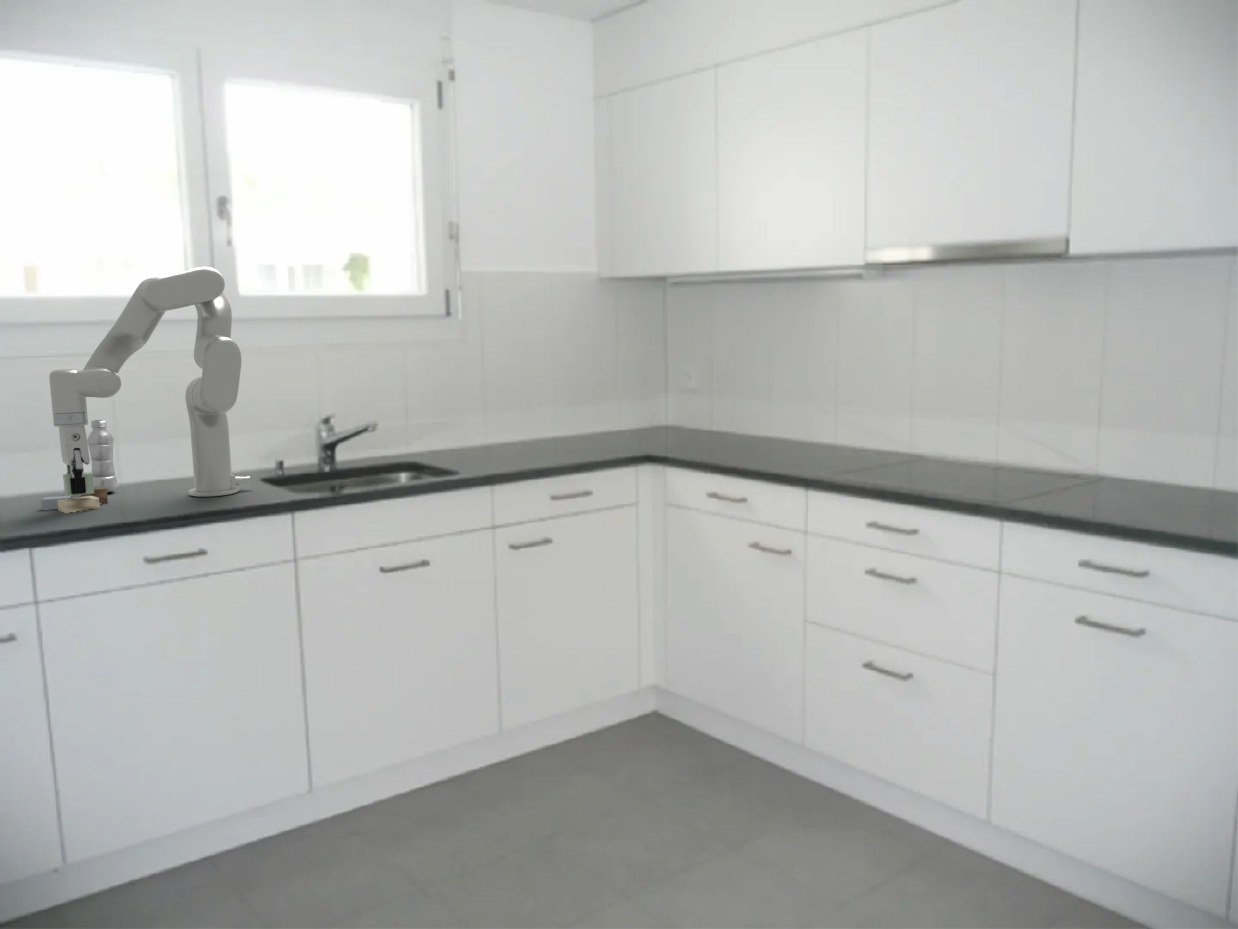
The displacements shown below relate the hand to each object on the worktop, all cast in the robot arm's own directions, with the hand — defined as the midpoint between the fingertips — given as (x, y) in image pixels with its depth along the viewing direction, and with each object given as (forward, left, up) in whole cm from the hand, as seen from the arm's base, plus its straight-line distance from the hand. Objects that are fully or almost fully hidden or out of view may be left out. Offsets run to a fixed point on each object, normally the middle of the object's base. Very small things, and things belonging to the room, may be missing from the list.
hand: (77, 491), depth 250 cm
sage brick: (-1, 0, -1) cm, 1 cm away
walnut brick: (-5, -6, -5) cm, 9 cm away
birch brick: (0, 0, -5) cm, 5 cm away
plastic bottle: (-10, -22, -5) cm, 25 cm away
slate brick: (+4, -6, -5) cm, 8 cm away
